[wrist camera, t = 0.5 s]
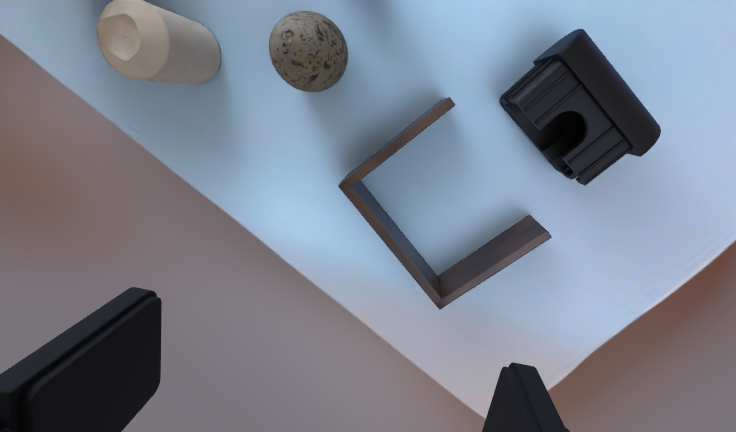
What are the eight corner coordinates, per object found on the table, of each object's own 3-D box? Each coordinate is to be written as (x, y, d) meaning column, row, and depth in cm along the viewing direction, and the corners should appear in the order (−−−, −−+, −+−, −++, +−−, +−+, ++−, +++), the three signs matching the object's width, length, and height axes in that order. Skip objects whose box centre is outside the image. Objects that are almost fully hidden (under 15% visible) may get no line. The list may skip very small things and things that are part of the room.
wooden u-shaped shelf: (443, 97, 36) (449, 96, 31) (534, 220, 38) (552, 237, 33) (346, 175, 39) (337, 185, 34) (435, 285, 41) (439, 310, 36)
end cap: (629, 123, 35) (680, 128, 28) (562, 177, 37) (595, 193, 30) (559, 35, 34) (596, 19, 27) (492, 96, 35) (512, 94, 29)
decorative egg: (281, 80, 37) (237, 72, 27) (298, 13, 35) (258, -21, 25) (341, 102, 37) (318, 101, 27) (362, 36, 35) (345, 10, 25)
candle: (155, 60, 37) (68, 45, 28) (181, 8, 36) (99, -28, 26) (204, 96, 38) (135, 94, 28) (232, 46, 36) (169, 25, 27)
